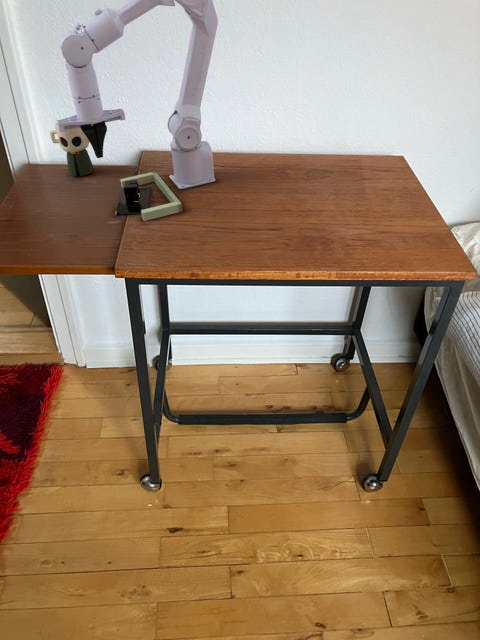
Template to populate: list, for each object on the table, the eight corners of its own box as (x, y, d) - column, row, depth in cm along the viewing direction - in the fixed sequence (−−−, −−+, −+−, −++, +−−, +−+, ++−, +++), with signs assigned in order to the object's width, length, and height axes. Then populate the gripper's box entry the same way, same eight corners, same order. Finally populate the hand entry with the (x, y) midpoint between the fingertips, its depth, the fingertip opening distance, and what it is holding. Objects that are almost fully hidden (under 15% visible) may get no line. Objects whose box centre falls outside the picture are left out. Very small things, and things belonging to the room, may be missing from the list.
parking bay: (156, 178, 134) (155, 171, 132) (182, 211, 120) (181, 203, 119) (121, 186, 131) (119, 179, 130) (144, 221, 118) (142, 213, 116)
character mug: (57, 179, 135) (43, 128, 127) (64, 167, 141) (51, 117, 132) (99, 178, 135) (88, 126, 127) (105, 166, 141) (94, 116, 132)
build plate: (147, 214, 120) (144, 195, 117) (115, 216, 120) (111, 197, 117) (150, 188, 130) (147, 170, 127) (120, 190, 129) (116, 172, 126)
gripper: (114, 84, 119) (125, 143, 127) (48, 95, 114) (64, 156, 123) (123, 92, 114) (133, 154, 122) (54, 105, 109) (70, 167, 118)
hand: (99, 156), depth 122 cm, fingers closed
